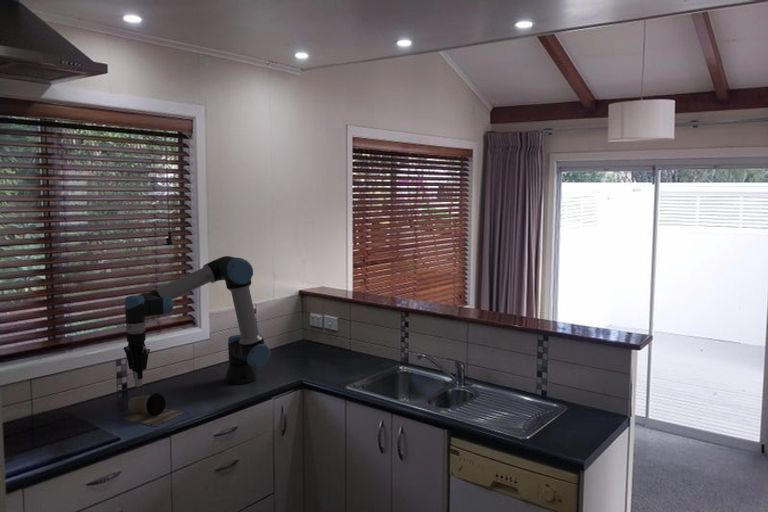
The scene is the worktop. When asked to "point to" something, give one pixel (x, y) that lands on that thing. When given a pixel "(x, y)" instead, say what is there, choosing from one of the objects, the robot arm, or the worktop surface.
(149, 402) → the coffee cup
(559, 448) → the worktop surface
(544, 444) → the worktop surface
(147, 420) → the brown striped mat
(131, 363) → the robot arm
